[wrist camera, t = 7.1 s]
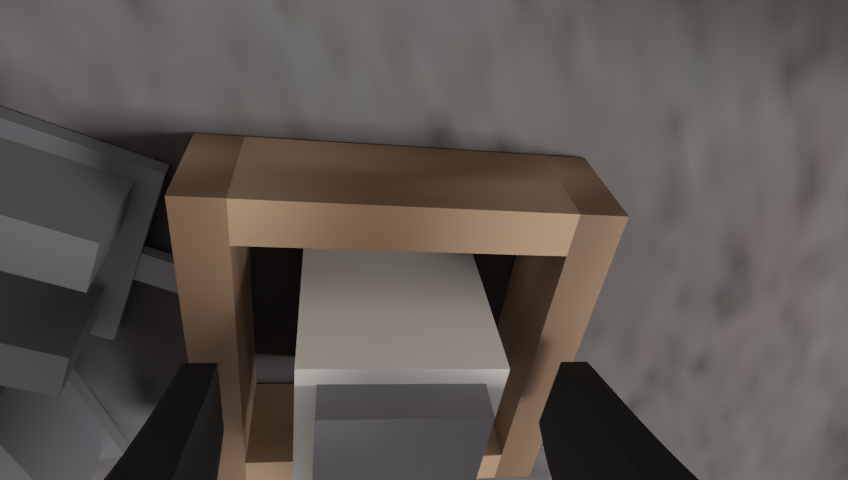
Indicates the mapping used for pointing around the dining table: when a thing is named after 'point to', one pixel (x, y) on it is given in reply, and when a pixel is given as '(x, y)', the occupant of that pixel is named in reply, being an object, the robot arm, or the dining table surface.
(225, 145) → the frame
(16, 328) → the clip
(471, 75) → the dining table surface
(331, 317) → the white boxy piece
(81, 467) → the clip
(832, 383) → the dining table surface
